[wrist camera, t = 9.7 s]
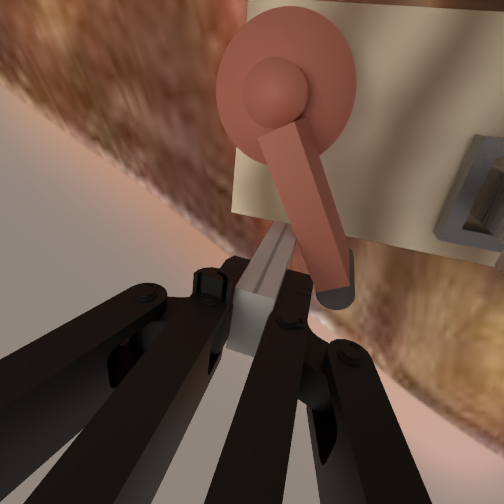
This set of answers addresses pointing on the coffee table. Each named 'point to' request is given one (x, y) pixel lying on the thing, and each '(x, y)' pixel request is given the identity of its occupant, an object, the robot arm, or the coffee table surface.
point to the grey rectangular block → (492, 208)
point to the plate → (400, 121)
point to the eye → (470, 197)
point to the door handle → (295, 127)
